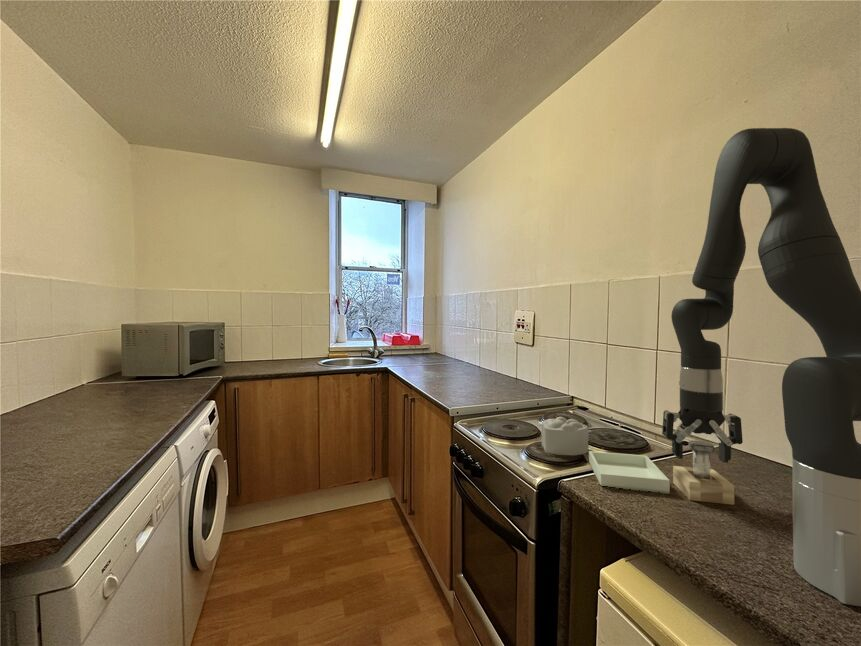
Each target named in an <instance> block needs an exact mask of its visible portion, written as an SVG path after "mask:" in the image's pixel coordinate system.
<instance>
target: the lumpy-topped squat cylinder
mask: <svg viewBox="0 0 861 646" xmlns="http://www.w3.org/2000/svg"><path fill="white" fill-rule="evenodd" d="M540 422H541V423H540V425H541V430H540V432H541V433H540V434H541V446H542V447H543V450H544V451H545V452H546V453H547V454H551V455H557V456H580V455H584V454H587V453H589V428H588V426H587V425H586V424H584V423H582V422H580V421H578V420H577V419H574V418H570V419H566V418H565V417H564V416H558V417H556V418H548V419H545V420H543V421H540Z"/></svg>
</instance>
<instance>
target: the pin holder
mask: <svg viewBox="0 0 861 646" xmlns="http://www.w3.org/2000/svg"><path fill="white" fill-rule="evenodd" d="M672 482H673V484H674V485H675V486H676V487H677V488H678V489H679V490H680V491H681V492H682V493H683V495H684V496H685V497H686V496H687V497H686V498H687V499H688V500H689V501H695V502H706V503H714V504H715V503H716V504H723V505H735V485H734V484H733V483H731V482H730V481H729V480H728V479H726V478H725V477H724V476H722V475H721V474H720V473H718V472H717V471H716V470H715V469H713V468H710V479H699V478H695V477H694V476H693V466H692V467H691V466H680V465H679V466H678V465H673V466H672Z"/></svg>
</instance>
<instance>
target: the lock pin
mask: <svg viewBox="0 0 861 646" xmlns="http://www.w3.org/2000/svg"><path fill="white" fill-rule="evenodd" d="M688 447H689V449H691V450H692V467H693V476H694V477H695V478H699V479H710V469H711V453H713V452H715V446H714V445H713V444H712V443H710V442H707V441H702V440H696V439H695V440H689V441H688Z"/></svg>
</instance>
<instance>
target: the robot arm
mask: <svg viewBox="0 0 861 646" xmlns="http://www.w3.org/2000/svg"><path fill="white" fill-rule="evenodd" d="M747 185H761V186H762V187H763V189H764V190H765V192H766V194H767V197H768V200H769V203H770V209H771V210H770V211H771V212H770V215H769V219H768V222H767V224H766V226H765V227H764V230H763V231H762V233H761V236H760V239H759V242H758V246H757V254H758V259H759V262H760V265H761V268H762V272H763V275H764V278H765V281H766V283H767V286H768V287H769V288H770V290H771V291H772V292H773V293H774V294H775V295H776V296H777V297H778V299H780V300H781V301H782V302H783V303H784V304H785V305H787V306H788V307H789V308H790V309H791V310H792V311H794V312H795V313H796V314H798V316H800V317H801V318H802V319H803V320H804V321H805V322H806V323H807V324H808V325H809V326H810V327H811V328H812V329H813V331H814V332H815V333H816V335H817V337H818V339H819V341H820V344H821V346H822V347H823V350H824V352H825V353H824V354H825V355H826V356H809V357H808V356H807V357H801V358H798V359H794V361H792V362H790V364H788V366H787V367H786V369H785V371H784V373H783V376H782V382H781V395H782V396H781V397H782V406H783V416H784V420H783V421H784V429H785V433H786V434H785V435H786V438H787V440H788V442H789V444H790V447H791V452H792V453H791V454H792V455H791V456H792V458H791V459H792V461H791V463H792V465H791V466H792V468H791V469H792V542H793V544H792V545H793V546H792V548H793V567H794V570H795V571H796V573H797V574H798V575H799V576H800V577H801V578H803V580H805V582H807V583H808V584H811V585H812V586H813V587H815V588H817V589H819V590H820V591H823V592H824V593H826V594H828V595H830V596H832V597H834V598H835V599H836V600H837V601H839V602H840V603H841V604H845V605H849V606H855V607H861V443H859V442H858V441H857V438H856V433H855V427H854V422H861V288H860V285H859V283H858V282H857V280H856V279H857V278H855V277H856V276H855V275H854V272H853V269H852V266H851V263H850V260H849V258H848V254H847V252H846V249H845V246H844V244H843V241H842V240H841V237H840V235H839V233H838V230H837V229H836V227H835V225H834V222H833V219H832V217H831V215H830V212H829V207H828V206H827V203H826V200H825V198H824V195H823V192H822V189H821V185H820V182H819V178H818V173H817V167H816V163H815V157H814V154H813V150H812V146H811V143H810V141H809V138H808V137H807V136H806V134H805V133H804V132H803V131H801V130H799V129H796V128H791V127H780V128H779V127H777V128H776V127H768V128H767V127H757V128H756V127H754V128H746V129H743V130H740V131H738V132H737V133H735V134H733V136H731V137H730V138H729V139H728V140H727V141H726V143H725V144H724V146H723V148H722V149H721V151H720V153H719V156H718V158H717V163H716V166H715V172H714V177H713V183H712V189H711V190H712V191H711V198H710V203H709V211H708V217H707V227H706V232H705V236H704V241H703V245H702V248H701V251H700V254H699V257H698V260H697V263H696V267H695V269H694V272H693V275H692V279H691V283H692V285H693V286H694V287H695V288H698V289H701V290H703V291H705V296H704V298H683V299H681V300H679V301H678V302H677V303H675V304H674V306H673V308H672V311H671V317H670V318H671V323H672V326H673V329H674V333H675V335H676V338H677V341H678V345H679V348H680V372H679V381H678V385H679V411H678V412H671V411H669V410H668V409H667V410H664V411H663V412H662V413H663V414H662V415H663V416H662V417H663V418H662V429H661V430H662V431H661V433H662V436H664V437H665V438H666V439H668V440H671V452H672V454H673V455H674V456H675V457H676V458H677V459H679V460H683V459H684V457H683V456H684V455H683V454H684V451H683V450H684V447H683V445H684V443H683V441H684V439H686V437H689V436H690V435H691V434H692V433H693V434H699V435H700V434H705V435H712V434H713V435H714V436H715V437H716V438H717V439H718V440H719V441H720V442H718V459H719V460H720V461H721V462H722V463H724V464H725V463H726V464H728V463H729V461H731V459H732V446H733V445H736V444H737V445H742V444H743V441H744V439H743V430H742V429H743V428H742V419H741V417H739V416H738V415H736V414H734V413H728V414H723V411H724V379H723V374H722V348H721V345H720V344H719V343H718V342H715V341H713V340H706V339H705V337H704V334H703V332H702V331H706V330H707V331H710V330H711V331H712V330H713V331H714V330H719V329H721V328H723V327H724V326H726V325H727V324H728V323H729V322H730V320H731V318H732V316H733V312H734V311H733V310H734V297H735V296H734V295H735V294H734V293H735V281H736V279H737V277H738V274H739V271H740V269H741V268H742V267H741V266H742V264H743V261H744V260H745V259H744V258H745V256H746V252H747V251H746V250H747V249H746V248H747V242H746V237H745V236H746V235H745V232H744V228H743V224H742V220H741V219H742V218H741V203H742V199H743V195H744V192H745V190H746V189H747ZM677 419H679V420H680V421H681V422H680V423H679V424H678V425H677V427H676V429H675V430H674V423H676V422H677V421H678V420H677ZM723 423H726V424H727V427H728V435H727V434H726V433H725V432H724V430H723V429H722V428H721V426H722V425H723Z"/></svg>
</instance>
